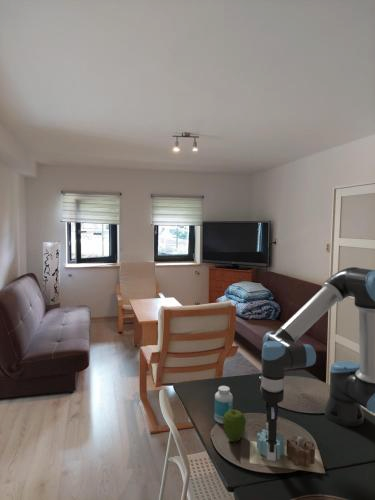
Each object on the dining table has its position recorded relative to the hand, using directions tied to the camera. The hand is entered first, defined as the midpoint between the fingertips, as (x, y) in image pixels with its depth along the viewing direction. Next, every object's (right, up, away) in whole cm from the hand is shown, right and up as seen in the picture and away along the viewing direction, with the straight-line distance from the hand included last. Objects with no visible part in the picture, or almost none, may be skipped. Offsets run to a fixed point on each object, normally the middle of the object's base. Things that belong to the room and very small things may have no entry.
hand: (270, 450), depth 120 cm
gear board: (+5, -3, -1) cm, 6 cm away
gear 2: (+10, -2, -2) cm, 10 cm away
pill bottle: (-14, -1, +24) cm, 27 cm away
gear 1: (0, 0, 0) cm, 0 cm away
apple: (-11, -2, +10) cm, 15 cm away
